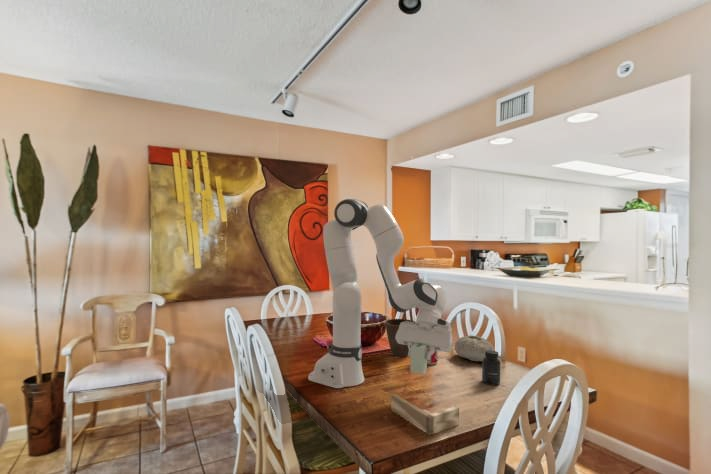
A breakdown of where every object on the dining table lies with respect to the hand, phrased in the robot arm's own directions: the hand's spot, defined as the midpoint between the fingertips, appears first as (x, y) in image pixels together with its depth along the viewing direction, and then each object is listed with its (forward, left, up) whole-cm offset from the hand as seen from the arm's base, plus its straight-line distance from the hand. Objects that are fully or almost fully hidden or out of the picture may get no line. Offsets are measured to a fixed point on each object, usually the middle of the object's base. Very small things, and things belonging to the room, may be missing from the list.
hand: (418, 357), depth 129 cm
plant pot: (-20, +46, -15) cm, 52 cm away
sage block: (0, +1, -5) cm, 5 cm away
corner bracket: (+4, -11, -15) cm, 19 cm away
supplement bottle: (+22, +28, -15) cm, 39 cm away
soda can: (-5, +41, -15) cm, 44 cm away
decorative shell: (+13, +55, -15) cm, 59 cm away
